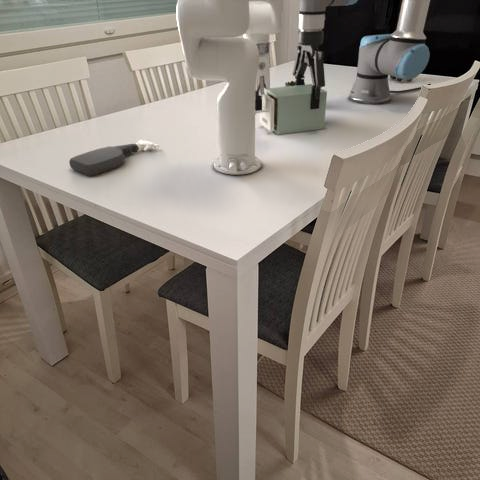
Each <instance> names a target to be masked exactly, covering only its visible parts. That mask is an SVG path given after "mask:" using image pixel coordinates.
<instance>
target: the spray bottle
mask: <svg viewBox="0 0 480 480" xmlns="http://www.w3.org/2000/svg"><path fill="white" fill-rule="evenodd" d="M159 148H160V145H159V144H158V143H155V142H151V141H148V140H144V139H139V140H138V141H137V142H135V143H129V144H128V143H126V144H122V145H113V146H105V147H100V148H97V149H94V150H90V151H87V152H83V153H81V154H78V155H74V156H73V157H70V159H69V161H68V162H69V167H70V168H71V169H72V170H74V171H75V172H78V173H81V174H83V175H85V176H89V177H90V176H91V177H92V176H95V175H99V174H102V173H105V172H107V171H110V170H113V169H116V168H118V167H120V166H122V165H123V164H124V163H125V158H126V156H127V155H131V154H133V153H138V151H140V150H143V151H144V152H146V151H147V150H149V149H159Z"/></svg>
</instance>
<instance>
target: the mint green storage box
mask: <svg viewBox="0 0 480 480" xmlns="http://www.w3.org/2000/svg"><path fill="white" fill-rule="evenodd" d="M312 86H313V83H308V84H305V85H297V86H287V87H285V86H277V87H270V89H269V90H267V89H265V94H266V95H268V94H271V95H272V96H274V97H275V98H277V99H278V114H277V128H276V127H274V131H273V132H274V133H276V134H277V135H284V134H293V133H300V132H309V131H315V130H323V129H325V124H326V123H325V121H326V110H327V97H328V91H326V89H325V90H324V89H323V88H321V90H320V103H319V109H310V104H311V89H312V88H311V87H312Z"/></svg>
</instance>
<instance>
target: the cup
mask: <svg viewBox="0 0 480 480" xmlns="http://www.w3.org/2000/svg"><path fill="white" fill-rule="evenodd" d="M304 85H306V82H305V81H304ZM287 86H296V80H295V81H294V80H291V81H287V82H285V84H284V87H287Z"/></svg>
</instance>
